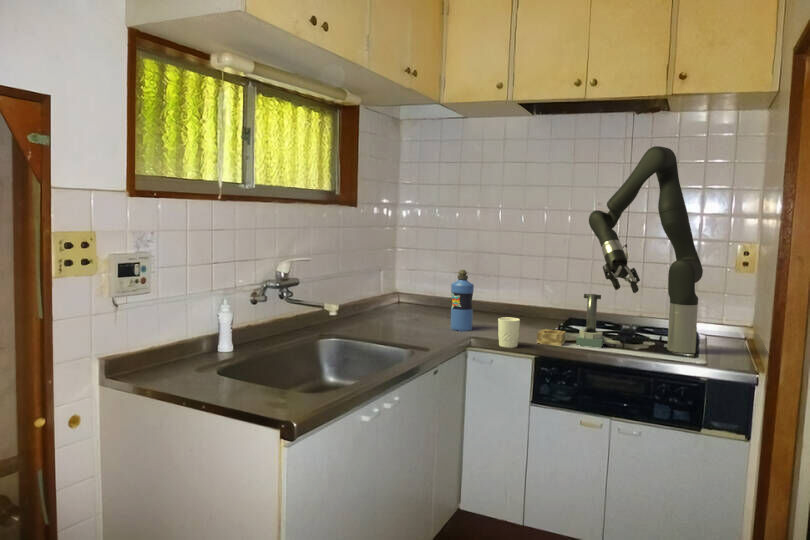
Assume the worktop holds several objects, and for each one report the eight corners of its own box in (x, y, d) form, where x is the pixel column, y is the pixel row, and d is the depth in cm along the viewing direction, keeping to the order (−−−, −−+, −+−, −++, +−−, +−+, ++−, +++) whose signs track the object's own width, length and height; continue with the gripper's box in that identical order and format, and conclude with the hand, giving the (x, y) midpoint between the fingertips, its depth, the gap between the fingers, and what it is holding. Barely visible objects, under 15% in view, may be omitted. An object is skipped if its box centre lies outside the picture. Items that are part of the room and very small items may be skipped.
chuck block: (620, 345, 227) (621, 332, 227) (618, 349, 219) (619, 336, 219) (579, 341, 233) (580, 328, 233) (576, 345, 225) (576, 332, 225)
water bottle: (463, 326, 261) (464, 268, 259) (477, 330, 253) (478, 270, 251) (445, 328, 256) (447, 269, 254) (459, 332, 248) (461, 271, 246)
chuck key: (599, 336, 228) (601, 294, 226) (598, 338, 224) (600, 295, 223) (583, 335, 230) (584, 293, 229) (581, 336, 227) (583, 294, 226)
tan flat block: (565, 341, 233) (565, 331, 232) (561, 345, 225) (561, 335, 224) (541, 339, 236) (542, 329, 236) (536, 343, 228) (537, 332, 228)
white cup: (514, 343, 228) (515, 317, 227) (522, 348, 220) (523, 320, 219) (494, 343, 226) (495, 317, 225) (501, 348, 218) (502, 321, 218)
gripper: (605, 245, 225) (618, 282, 216) (635, 251, 230) (649, 287, 221) (593, 257, 231) (605, 293, 222) (622, 262, 236) (635, 298, 227)
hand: (627, 290), depth 221 cm, fingers open, 8 cm apart
